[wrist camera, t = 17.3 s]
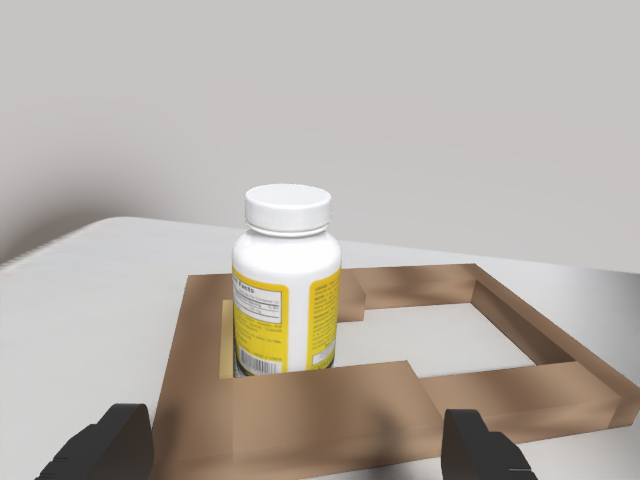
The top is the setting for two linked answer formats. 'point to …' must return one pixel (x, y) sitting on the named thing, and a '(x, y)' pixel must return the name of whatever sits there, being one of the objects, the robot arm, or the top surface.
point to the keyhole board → (367, 387)
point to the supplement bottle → (286, 281)
